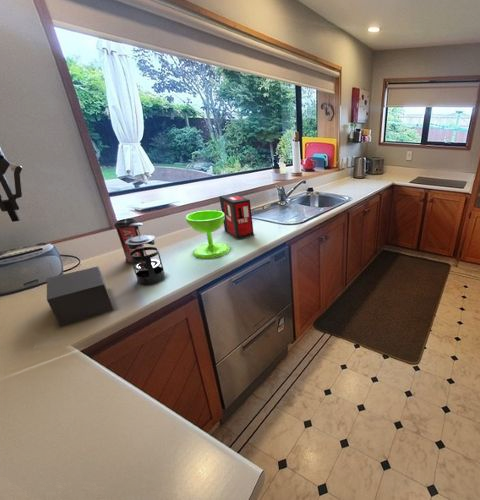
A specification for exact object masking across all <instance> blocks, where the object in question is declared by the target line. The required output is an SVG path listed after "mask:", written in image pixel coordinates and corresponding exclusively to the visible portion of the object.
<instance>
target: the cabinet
mask: <svg viewBox="0 0 480 500" xmlns="http://www.w3.org/2000/svg"><path fill="white" fill-rule="evenodd" d="M46 301H47V303H48V305H49V307H50V309H51V312H52V313H53V315H54V317H55V320H56V321H57V324H58V325H59V327H63V326H67V325H70V324H73V323H76V322H79V321H83V320H85V319H88V318H92V317H94V316H98V315H102V314H105V313H107V312H111V311H113V310H115V309H114V306H113V303H112V299H111V297H110V293H109V290H108V288H107V286H106V283H105V280H104V278H103V274H102V272H101V270H100V267H99V266H94V267H93V266H92V267H89V268H85V269H81V270H76V271H72V272H68V273H63V274H60V275H55V276H50V277H47V278H46Z"/></svg>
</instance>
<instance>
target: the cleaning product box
mask: <svg viewBox="0 0 480 500" xmlns="http://www.w3.org/2000/svg"><path fill="white" fill-rule="evenodd" d="M219 204H220V211H221V212H223V213H224V214H225V219H224V222H223V228H224V232H226V233H228V234H229V235H231V236H232V237H234V238H236V239H238V240H240V239H244V238H249V237H251V236H254V235H255V234H254V223H253V215H252V207H251V199H249V198H246V197H245V196H241V195H239V194H236V193H231V194H225V195H224V194H223V195H219Z"/></svg>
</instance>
